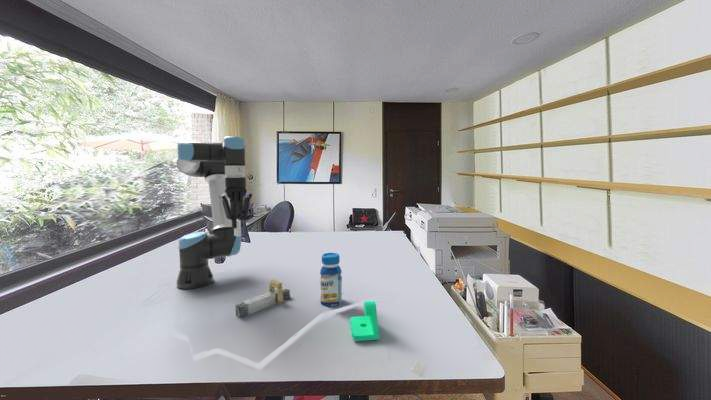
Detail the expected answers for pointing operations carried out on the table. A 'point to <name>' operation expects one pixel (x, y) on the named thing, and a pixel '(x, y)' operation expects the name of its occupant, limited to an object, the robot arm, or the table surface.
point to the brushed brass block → (278, 285)
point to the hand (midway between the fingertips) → (237, 235)
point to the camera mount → (365, 323)
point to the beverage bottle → (331, 280)
